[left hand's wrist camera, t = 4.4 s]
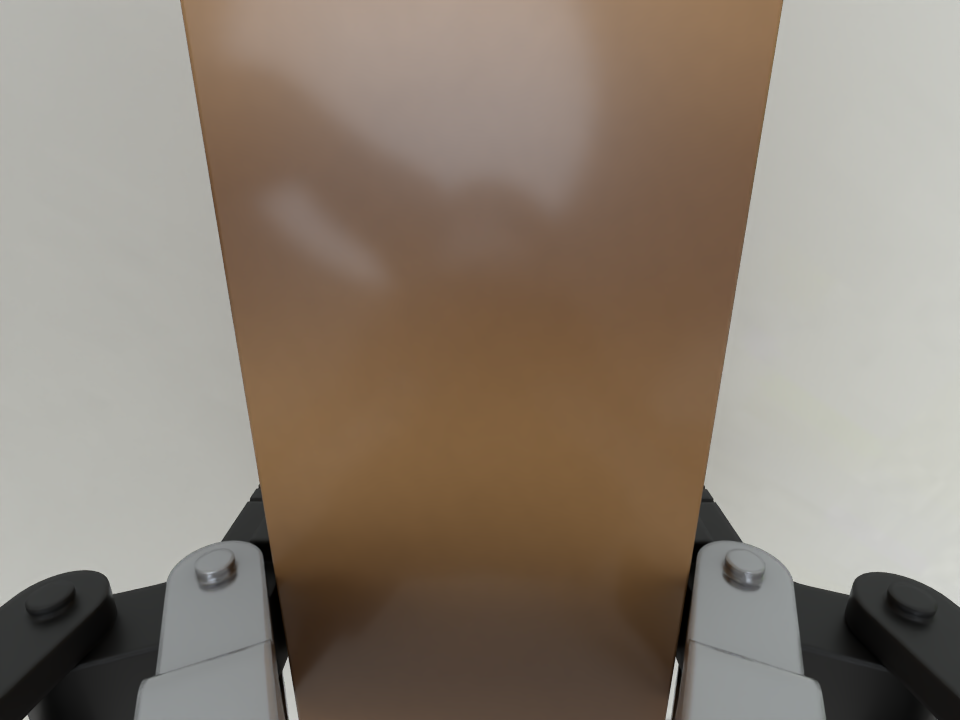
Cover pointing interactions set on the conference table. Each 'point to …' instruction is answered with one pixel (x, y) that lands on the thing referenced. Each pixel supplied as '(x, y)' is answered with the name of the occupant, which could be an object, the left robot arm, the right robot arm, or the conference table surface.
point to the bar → (481, 330)
